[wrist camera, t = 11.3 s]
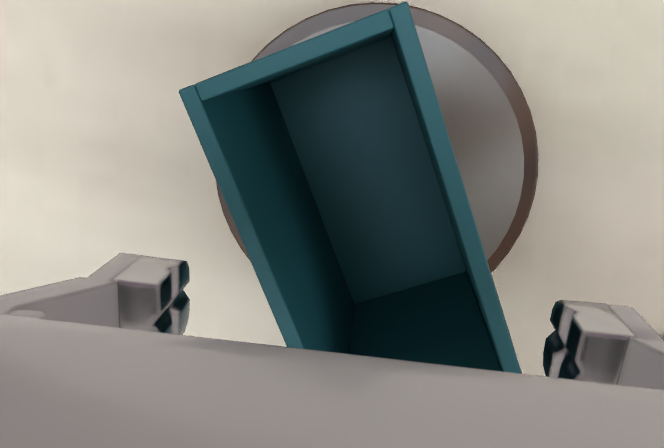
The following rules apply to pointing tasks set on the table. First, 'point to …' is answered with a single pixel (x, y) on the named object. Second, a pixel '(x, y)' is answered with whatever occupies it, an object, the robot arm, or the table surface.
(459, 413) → the robot arm
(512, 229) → the disc
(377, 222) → the bin
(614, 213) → the table surface
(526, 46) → the table surface
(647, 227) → the table surface
